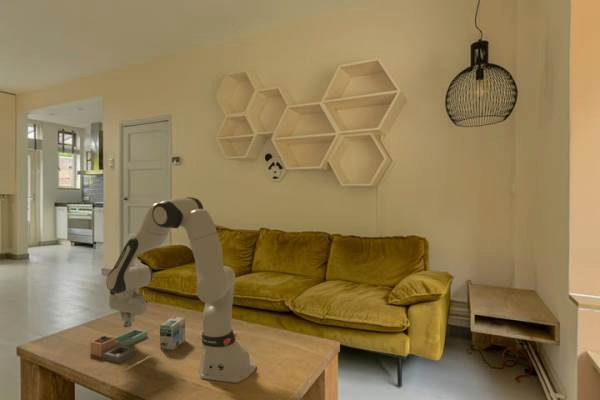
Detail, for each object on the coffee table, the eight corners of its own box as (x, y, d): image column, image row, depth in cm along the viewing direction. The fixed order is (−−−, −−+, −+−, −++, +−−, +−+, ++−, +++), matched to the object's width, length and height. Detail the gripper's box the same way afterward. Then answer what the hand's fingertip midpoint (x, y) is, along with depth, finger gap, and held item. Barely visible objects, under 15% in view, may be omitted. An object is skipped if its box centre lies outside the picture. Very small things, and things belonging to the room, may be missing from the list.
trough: (147, 338, 159) (147, 331, 159) (121, 350, 146) (121, 343, 146) (135, 335, 162) (135, 328, 162) (108, 347, 149) (108, 340, 149)
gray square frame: (135, 356, 141) (135, 349, 141) (118, 365, 134) (118, 357, 134) (119, 351, 145) (119, 344, 145) (101, 360, 138) (101, 352, 138)
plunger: (127, 354, 141) (127, 352, 141) (117, 359, 136) (117, 357, 136) (119, 352, 142) (119, 350, 142) (110, 357, 138) (110, 355, 138)
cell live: (133, 325, 155) (133, 311, 154) (127, 327, 151) (127, 313, 151) (128, 324, 156) (128, 310, 156) (121, 326, 153) (121, 312, 153)
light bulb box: (172, 350, 146) (172, 326, 146) (159, 349, 148) (159, 324, 148) (185, 340, 157) (185, 317, 157) (173, 338, 158) (173, 316, 158)
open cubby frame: (116, 351, 145) (116, 338, 145) (101, 358, 139) (101, 344, 139) (105, 348, 148) (105, 335, 148) (90, 355, 141) (90, 341, 141)
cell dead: (109, 350, 144) (109, 336, 144) (102, 354, 141) (102, 339, 141) (104, 349, 145) (104, 334, 145) (96, 352, 142) (96, 337, 142)
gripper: (150, 292, 152) (150, 322, 152) (118, 286, 160) (118, 315, 161) (138, 296, 146) (138, 327, 147) (106, 290, 155) (106, 319, 155)
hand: (127, 321), depth 154 cm, fingers closed on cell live, 3 cm apart
